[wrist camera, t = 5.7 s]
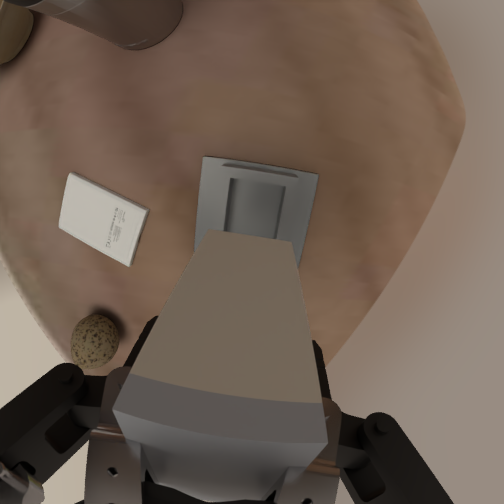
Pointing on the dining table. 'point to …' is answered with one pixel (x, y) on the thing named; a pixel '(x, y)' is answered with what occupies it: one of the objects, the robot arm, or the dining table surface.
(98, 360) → the decorative egg
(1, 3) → the planter bowl
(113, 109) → the dining table surface
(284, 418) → the plug
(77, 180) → the external hard drive
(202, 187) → the panel
